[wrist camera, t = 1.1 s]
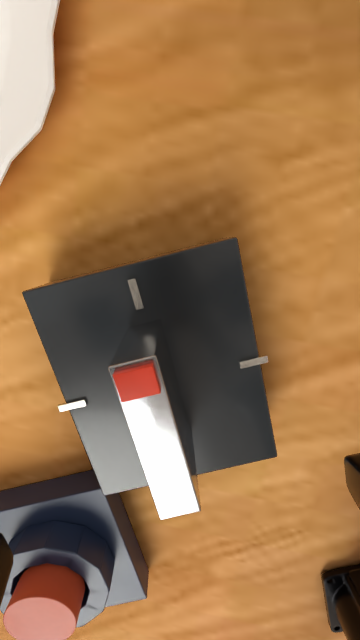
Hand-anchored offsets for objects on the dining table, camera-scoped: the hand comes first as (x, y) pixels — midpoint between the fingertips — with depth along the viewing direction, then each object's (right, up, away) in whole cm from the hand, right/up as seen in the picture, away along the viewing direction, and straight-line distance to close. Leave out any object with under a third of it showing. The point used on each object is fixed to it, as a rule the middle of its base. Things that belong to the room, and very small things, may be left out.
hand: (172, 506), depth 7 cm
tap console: (-1, +2, +10) cm, 10 cm away
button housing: (-8, -11, +13) cm, 19 cm away
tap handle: (-1, +2, +7) cm, 7 cm away
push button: (-8, -12, +10) cm, 17 cm away
